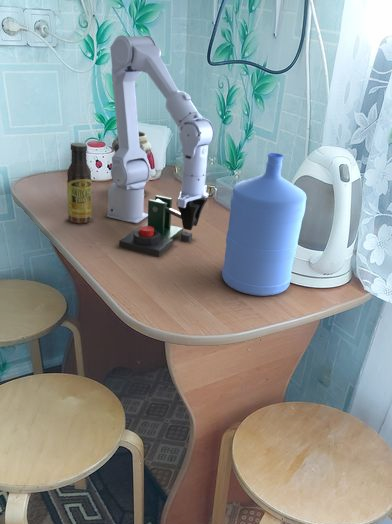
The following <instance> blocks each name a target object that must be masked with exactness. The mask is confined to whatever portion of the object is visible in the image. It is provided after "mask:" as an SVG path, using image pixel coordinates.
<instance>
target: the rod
mask: <svg viewBox="0 0 392 524" xmlns="http://www.w3.org/2000/svg"><path fill="white" fill-rule="evenodd" d="M156 201H161V202H164V201H162V200H160V199H157V200H156ZM165 203H166V204H165V211H166V212H168V213H170V214H171V216H174V217H176V218H179V219H180V220H182V218H181V214H180V211H179V210H176V209H174V208H172V209H171V208H169V207H167V202H165ZM196 221H197V219H196V217H195V218H194V223H193V227H195V226H194V225H195V224H196Z"/></svg>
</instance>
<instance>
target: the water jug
mask: <svg viewBox="0 0 392 524" xmlns="http://www.w3.org/2000/svg"><path fill="white" fill-rule="evenodd" d="M284 157H285V156H284V154H281V153H278V152H269V153H267V161H266V164H265V166H266V167H265V172H264V173H263V174H261V175H258V176H254V177H251V178H248V179H244V180H242V181H238V182H237V183H236V184H234V186H233V188H232V194H231V197H230V204H229V205H230V211H229V217H228V227H227V232H226V238H225V252H224V260H223V265H222V270H221V277H222V279H223V281H224V282H225V284H226V285H227V286H229V287H230V288H231V289H234V290H235V291H237V292H240V293H243V294H246V295H252V296H259V297H260V296H261V297H269V296H274V295H275V296H276V295H278V294H281V293H283V292H285V291H286V290H287V289H288V288H289V286H290V284H291V281H292V272H293V267H294V263H295V257H296V254H297V250H298V244H299V238H300V233H301V228H302V224H303V223H302V222H303V219H304V216H305V212H306V204H307V203H306V202H307V194H306V192H305V191H304V190H303V189H301V188H300V187H298V186H297V185H295V184H293V183H292V182H290V181H289V180H287V179H285V178H284V177H282V175H281V174H282V173H281V171H282V168H283V159H284Z"/></svg>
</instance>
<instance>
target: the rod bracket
mask: <svg viewBox="0 0 392 524" xmlns="http://www.w3.org/2000/svg"><path fill="white" fill-rule="evenodd" d="M157 199H160V200H162V201H164V202H161V201H156V200H157ZM147 201H148V202H147V214H148V216H147V222H145V223H144V224H142V225H141V226H151V227H153V228H154V230H156V231H158V232H159V234H160V237H163V238H167V239H172V240H173V241H174V240H175V239H177V237H179V236H181V234H182V233H183V232H184V229H183V227H181V226H176V225H172V214H170V213H168V212H166V211H165V204H166V203H165V202H167V207H169V208H171V209H173V208H172V205H173V198H172V197H168V196H163V195H159V194H156V195H155V197H154V199H151V198H149V199H148V200H147ZM141 226H139V227H138V228H136V229H135V230H137V229H139V228H140V227H141Z"/></svg>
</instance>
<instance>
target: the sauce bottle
mask: <svg viewBox="0 0 392 524" xmlns="http://www.w3.org/2000/svg"><path fill="white" fill-rule="evenodd" d="M70 151H71V160H70V161H71V163H70V164H69V167H68V169H67V175H66V176H67V180H66V187H67V193H66V194H67V215H68V218H67V219H68V220H69V222H70V223H74V224H85V223H86V224H87V223H89V222H90V221H91V219H92V173H91V172H92V171H91V168H90V166H89V164H88V160H87V152H88V145H87V144H86V143H83V142H72V143H70Z"/></svg>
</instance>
